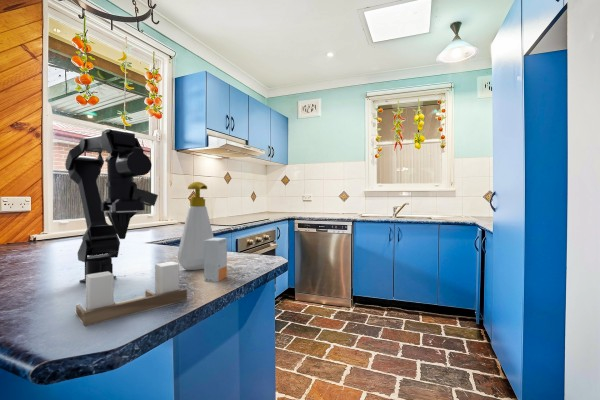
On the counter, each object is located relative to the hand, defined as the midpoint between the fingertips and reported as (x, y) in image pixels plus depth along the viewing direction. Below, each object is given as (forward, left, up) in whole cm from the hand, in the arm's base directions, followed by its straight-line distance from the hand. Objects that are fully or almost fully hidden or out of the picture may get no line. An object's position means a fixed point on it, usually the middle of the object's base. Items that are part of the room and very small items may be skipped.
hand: (122, 239), depth 76 cm
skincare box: (+19, +13, -13) cm, 27 cm away
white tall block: (+11, -16, -13) cm, 23 cm away
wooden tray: (+13, -10, -13) cm, 21 cm away
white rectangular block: (+18, -5, -13) cm, 22 cm away
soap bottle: (+7, +23, -13) cm, 28 cm away
